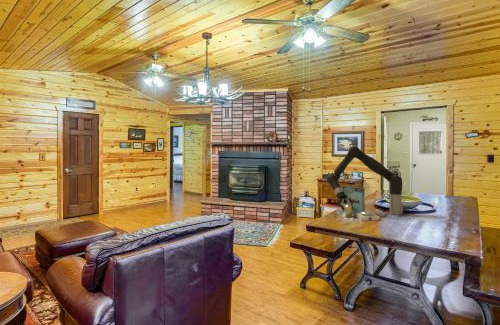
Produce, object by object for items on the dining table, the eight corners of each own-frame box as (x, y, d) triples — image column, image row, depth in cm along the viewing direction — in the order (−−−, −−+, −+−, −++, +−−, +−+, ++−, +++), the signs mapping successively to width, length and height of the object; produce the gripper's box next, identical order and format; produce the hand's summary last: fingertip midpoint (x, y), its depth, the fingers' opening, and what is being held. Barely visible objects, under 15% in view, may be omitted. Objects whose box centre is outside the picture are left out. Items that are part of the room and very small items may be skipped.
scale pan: (371, 211, 242) (371, 210, 242) (376, 214, 231) (376, 213, 231) (358, 211, 242) (358, 210, 242) (362, 214, 231) (362, 213, 231)
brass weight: (350, 215, 247) (350, 204, 246) (352, 217, 242) (352, 205, 241) (344, 216, 247) (344, 204, 246) (346, 217, 242) (346, 205, 241)
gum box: (342, 211, 263) (341, 186, 262) (345, 210, 266) (345, 185, 265) (361, 215, 248) (361, 188, 246) (364, 214, 251) (364, 188, 249)
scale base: (373, 216, 242) (373, 212, 242) (379, 220, 230) (379, 216, 230) (356, 216, 243) (356, 213, 243) (361, 220, 231) (361, 216, 231)
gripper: (334, 191, 250) (342, 207, 239) (348, 190, 254) (357, 206, 244) (331, 196, 255) (339, 212, 245) (345, 195, 259) (353, 210, 249)
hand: (348, 209), depth 244 cm, fingers open, 8 cm apart
